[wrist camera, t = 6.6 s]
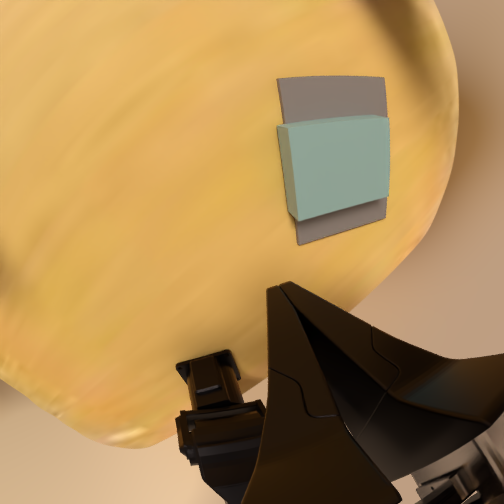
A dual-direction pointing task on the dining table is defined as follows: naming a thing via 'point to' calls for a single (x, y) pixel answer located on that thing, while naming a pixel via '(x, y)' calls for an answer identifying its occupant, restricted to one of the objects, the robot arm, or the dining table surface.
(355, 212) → the mat
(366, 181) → the tile
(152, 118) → the dining table surface
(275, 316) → the robot arm
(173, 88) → the dining table surface
